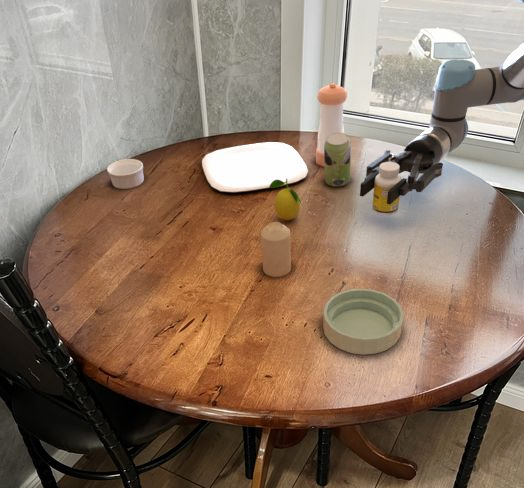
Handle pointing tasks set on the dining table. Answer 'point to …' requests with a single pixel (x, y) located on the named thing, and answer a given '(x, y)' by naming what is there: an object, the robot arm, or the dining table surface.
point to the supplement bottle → (385, 188)
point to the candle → (276, 249)
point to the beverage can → (337, 159)
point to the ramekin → (126, 173)
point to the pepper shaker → (329, 116)
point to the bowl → (362, 321)
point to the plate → (253, 167)
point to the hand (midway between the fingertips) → (375, 193)
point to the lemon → (286, 201)
